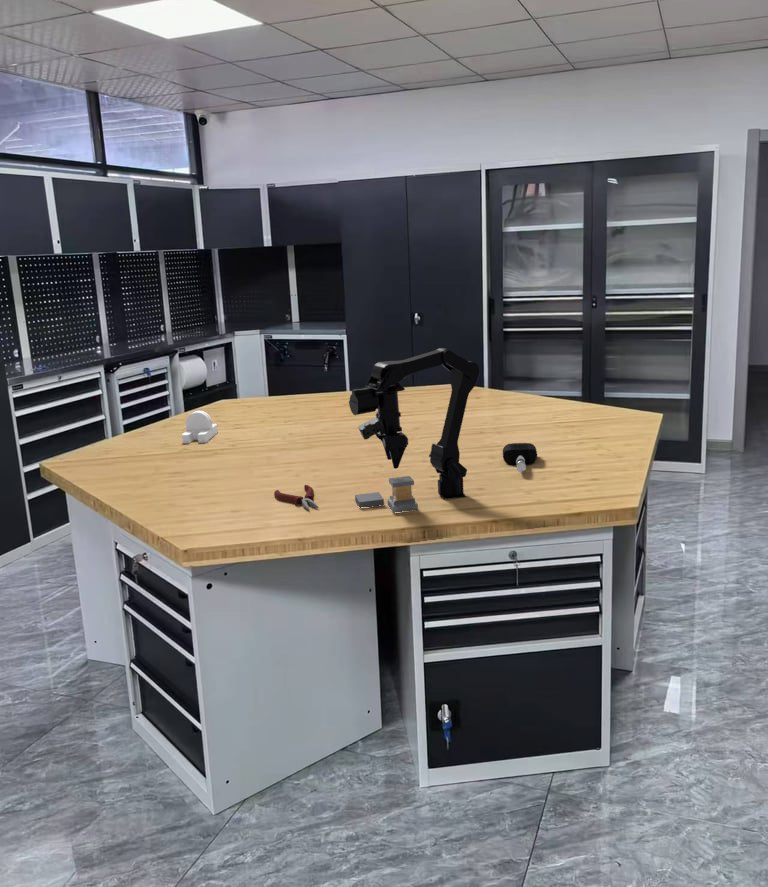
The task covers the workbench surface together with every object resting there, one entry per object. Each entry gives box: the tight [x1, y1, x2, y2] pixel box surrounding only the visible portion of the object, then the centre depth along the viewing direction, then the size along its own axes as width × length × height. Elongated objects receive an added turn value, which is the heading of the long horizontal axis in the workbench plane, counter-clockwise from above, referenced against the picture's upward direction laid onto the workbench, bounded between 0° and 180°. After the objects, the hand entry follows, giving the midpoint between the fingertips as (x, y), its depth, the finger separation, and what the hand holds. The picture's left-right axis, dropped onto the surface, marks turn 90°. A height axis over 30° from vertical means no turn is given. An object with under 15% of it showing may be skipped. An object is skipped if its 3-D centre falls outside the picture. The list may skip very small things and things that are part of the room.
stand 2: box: [387, 498, 419, 514], centre depth 230 cm, size 7×7×2 cm
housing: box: [388, 475, 416, 505], centre depth 229 cm, size 6×5×6 cm
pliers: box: [273, 484, 319, 511], centre depth 241 cm, size 12×20×3 cm, turn 25°
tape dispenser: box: [181, 410, 218, 444], centre depth 327 cm, size 10×18×11 cm, turn 176°
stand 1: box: [354, 491, 385, 509], centre depth 235 cm, size 7×7×2 cm
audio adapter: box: [502, 442, 538, 474], centre depth 263 cm, size 11×5×25 cm
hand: (392, 463), depth 228 cm, fingers open, 9 cm apart
